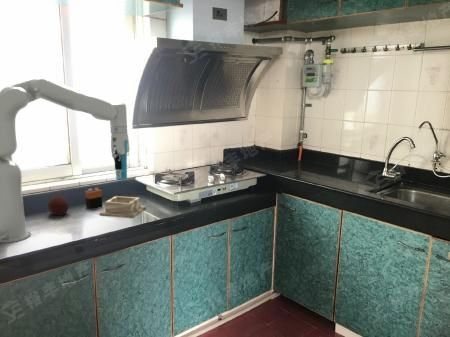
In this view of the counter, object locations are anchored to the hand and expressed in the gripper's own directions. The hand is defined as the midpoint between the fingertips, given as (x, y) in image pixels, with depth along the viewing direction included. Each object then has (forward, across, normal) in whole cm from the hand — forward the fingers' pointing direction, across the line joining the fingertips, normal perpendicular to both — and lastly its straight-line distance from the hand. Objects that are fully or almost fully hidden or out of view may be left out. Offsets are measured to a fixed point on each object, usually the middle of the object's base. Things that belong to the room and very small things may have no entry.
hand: (120, 167), depth 182 cm
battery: (+22, +3, +17) cm, 28 cm away
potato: (+22, -10, +28) cm, 37 cm away
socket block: (+22, 0, 0) cm, 22 cm away
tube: (+6, 0, 0) cm, 6 cm away
